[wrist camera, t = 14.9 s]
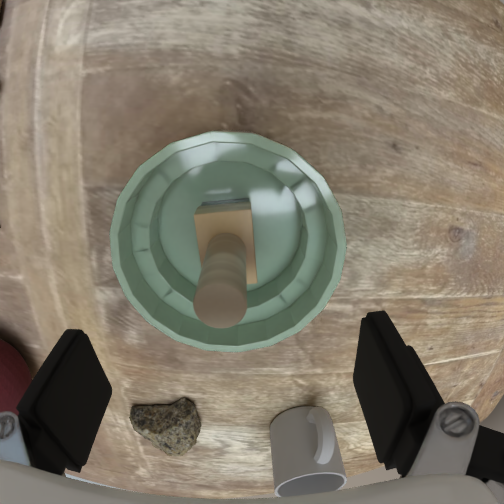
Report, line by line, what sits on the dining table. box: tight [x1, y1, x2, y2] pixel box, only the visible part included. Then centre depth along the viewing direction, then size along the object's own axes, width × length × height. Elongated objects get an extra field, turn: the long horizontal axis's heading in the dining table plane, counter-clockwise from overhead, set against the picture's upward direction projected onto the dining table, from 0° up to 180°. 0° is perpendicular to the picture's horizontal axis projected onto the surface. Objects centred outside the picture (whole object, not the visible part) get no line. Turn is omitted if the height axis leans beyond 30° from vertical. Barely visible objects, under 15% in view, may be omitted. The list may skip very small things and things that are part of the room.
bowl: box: [109, 130, 347, 352], centre depth 21 cm, size 14×14×6 cm
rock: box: [129, 398, 201, 456], centre depth 30 cm, size 7×8×4 cm
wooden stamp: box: [193, 198, 258, 328], centre depth 19 cm, size 5×4×10 cm
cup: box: [270, 406, 347, 497], centre depth 28 cm, size 7×10×9 cm
